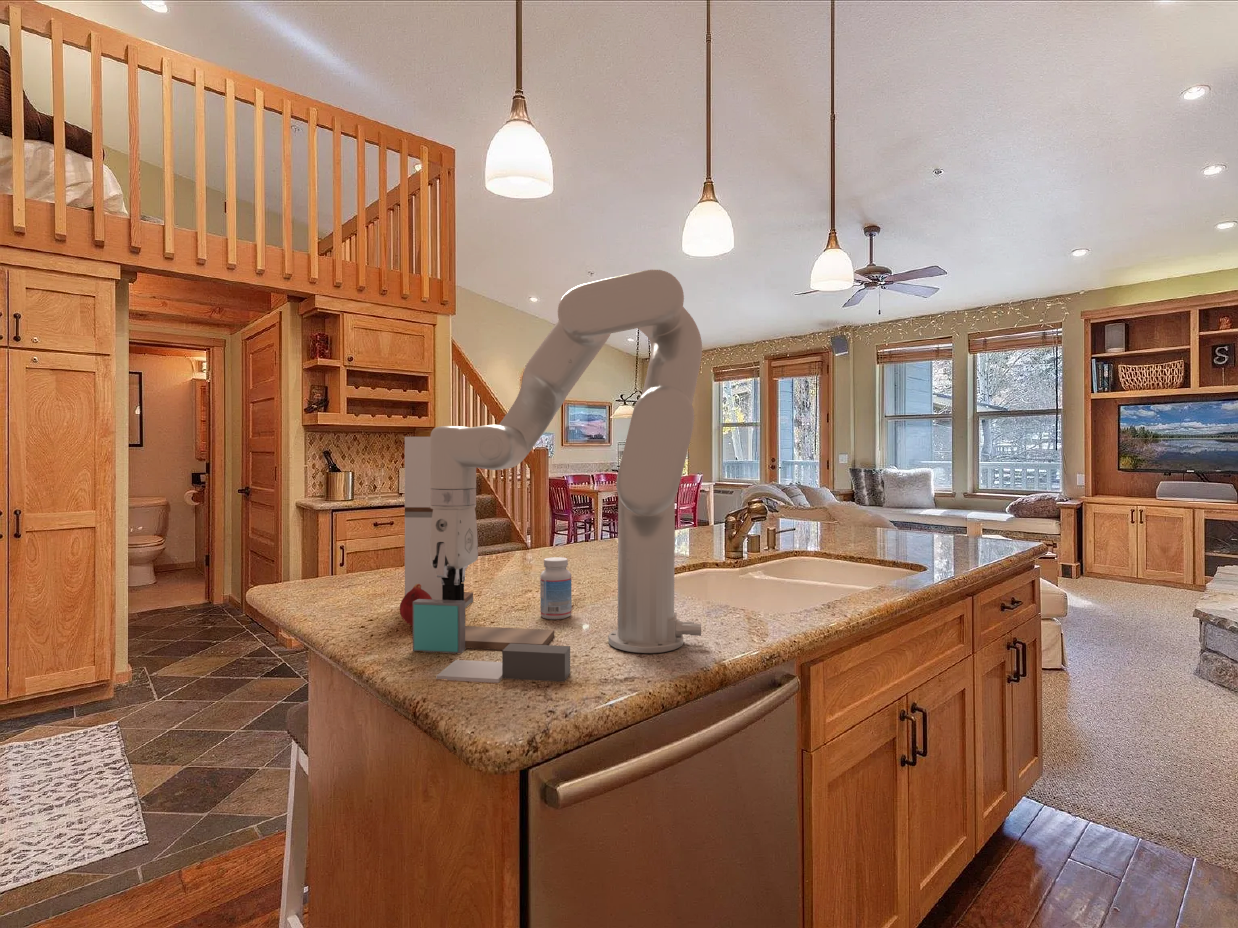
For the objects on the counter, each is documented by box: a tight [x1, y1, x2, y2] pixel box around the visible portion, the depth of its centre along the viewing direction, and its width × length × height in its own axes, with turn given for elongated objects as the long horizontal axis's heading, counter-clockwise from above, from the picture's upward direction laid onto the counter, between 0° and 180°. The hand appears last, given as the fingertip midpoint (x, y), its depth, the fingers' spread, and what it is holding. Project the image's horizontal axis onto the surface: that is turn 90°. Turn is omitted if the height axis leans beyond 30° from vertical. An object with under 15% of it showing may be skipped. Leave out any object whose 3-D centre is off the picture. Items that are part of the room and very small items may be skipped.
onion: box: [399, 583, 432, 627], centre depth 115 cm, size 6×6×8 cm
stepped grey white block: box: [435, 643, 571, 684], centre depth 91 cm, size 18×7×4 cm, turn 82°
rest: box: [465, 625, 555, 651], centre depth 107 cm, size 18×8×1 cm, turn 82°
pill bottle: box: [539, 556, 573, 620], centre depth 124 cm, size 6×6×11 cm
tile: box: [412, 599, 466, 654], centre depth 102 cm, size 8×2×8 cm, turn 82°
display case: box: [404, 436, 474, 609], centre depth 130 cm, size 11×11×35 cm
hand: (453, 606), depth 107 cm, fingers closed
